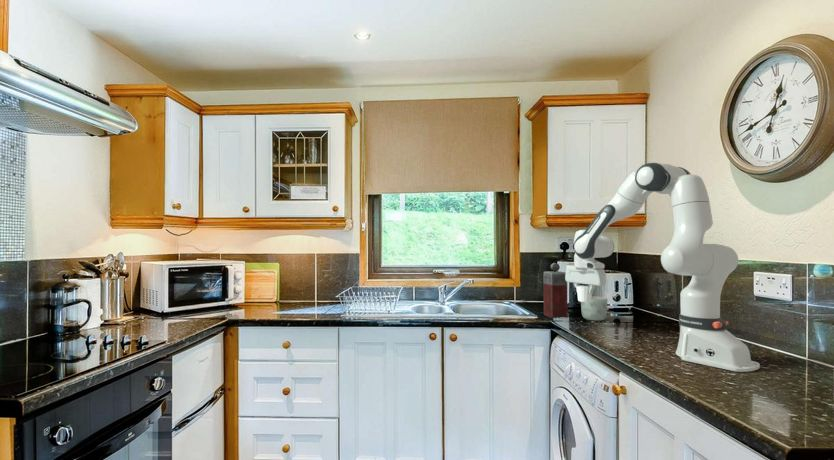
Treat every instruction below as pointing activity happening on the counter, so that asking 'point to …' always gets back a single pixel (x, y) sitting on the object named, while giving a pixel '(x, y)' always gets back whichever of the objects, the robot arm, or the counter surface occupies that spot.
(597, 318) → the planter
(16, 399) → the counter surface
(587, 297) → the shot glass
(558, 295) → the red decanter
